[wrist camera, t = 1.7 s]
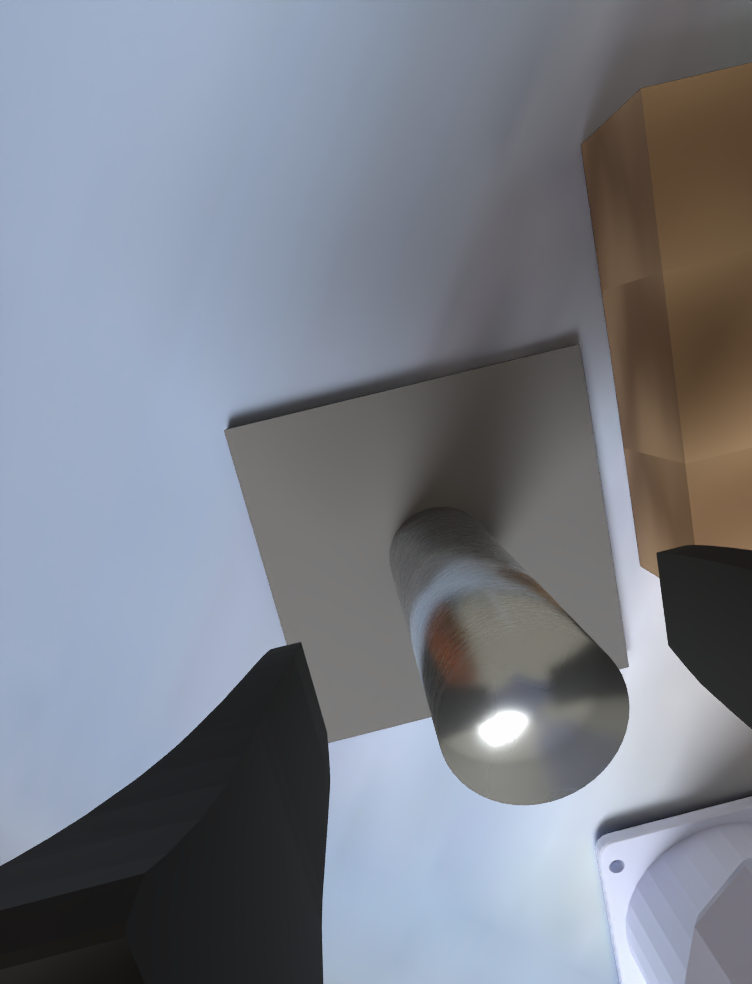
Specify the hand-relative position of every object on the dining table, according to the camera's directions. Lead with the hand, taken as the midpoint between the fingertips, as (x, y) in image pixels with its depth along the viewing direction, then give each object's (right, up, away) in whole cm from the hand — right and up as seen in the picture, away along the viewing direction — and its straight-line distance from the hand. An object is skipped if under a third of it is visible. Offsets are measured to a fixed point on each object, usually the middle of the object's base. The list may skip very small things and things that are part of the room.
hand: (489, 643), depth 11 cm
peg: (0, +1, +5) cm, 6 cm away
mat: (0, +1, +6) cm, 6 cm away
